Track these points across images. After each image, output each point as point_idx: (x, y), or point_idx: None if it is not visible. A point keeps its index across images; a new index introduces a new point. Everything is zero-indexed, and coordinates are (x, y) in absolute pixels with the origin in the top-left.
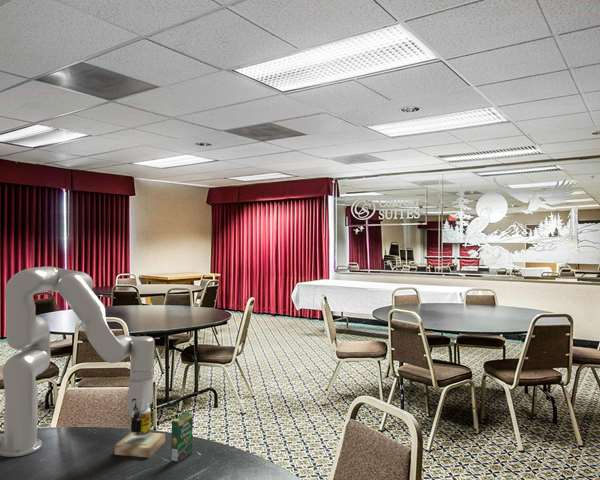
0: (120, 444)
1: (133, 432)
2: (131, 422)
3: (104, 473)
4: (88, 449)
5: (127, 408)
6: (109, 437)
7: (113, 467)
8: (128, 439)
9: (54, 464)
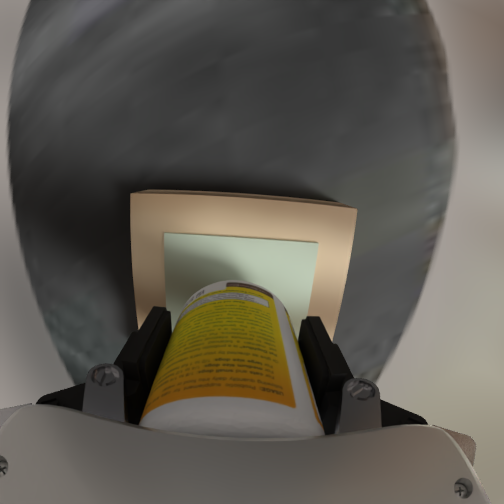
0: (144, 222)
1: (186, 303)
2: (130, 346)
3: (22, 237)
4: (194, 39)
5: (4, 424)
6: (351, 75)
7: (54, 247)
8: (213, 242)
9: (65, 26)
